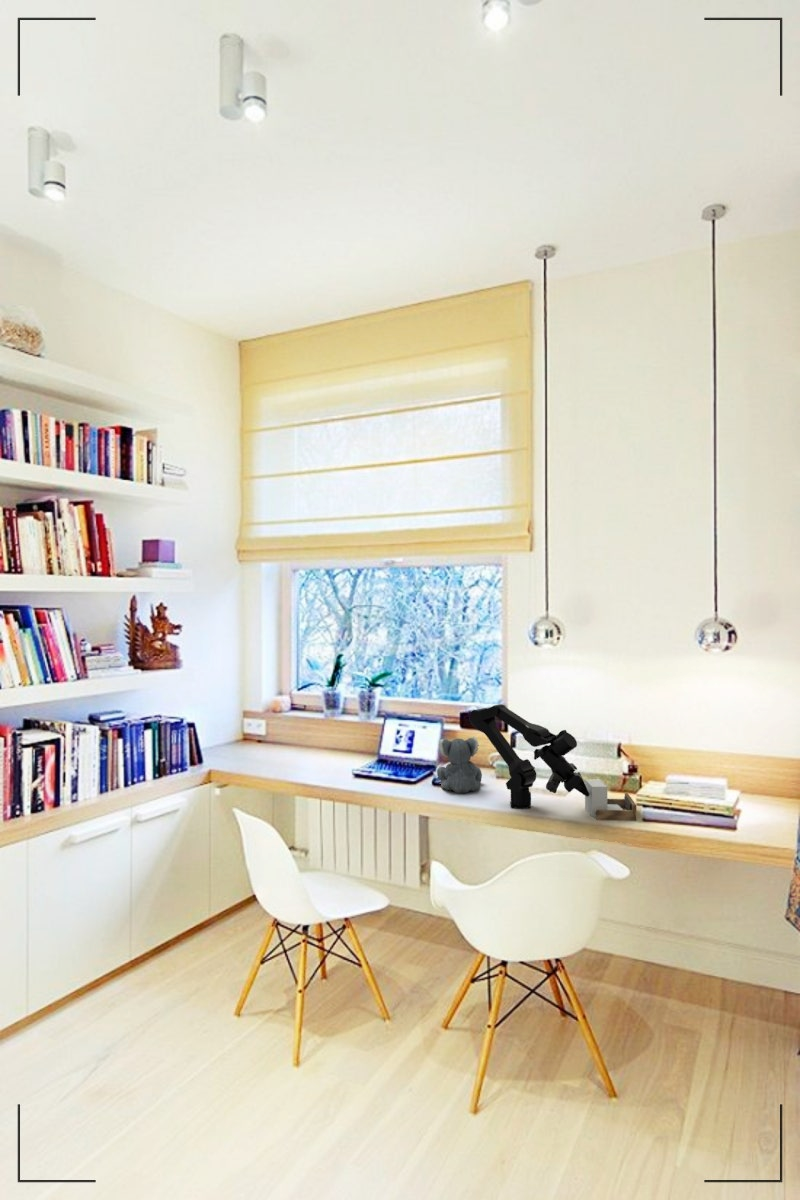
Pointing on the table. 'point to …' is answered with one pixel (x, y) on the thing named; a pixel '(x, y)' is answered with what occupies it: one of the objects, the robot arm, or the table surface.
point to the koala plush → (459, 765)
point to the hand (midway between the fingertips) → (588, 795)
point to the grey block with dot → (597, 797)
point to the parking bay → (619, 814)
